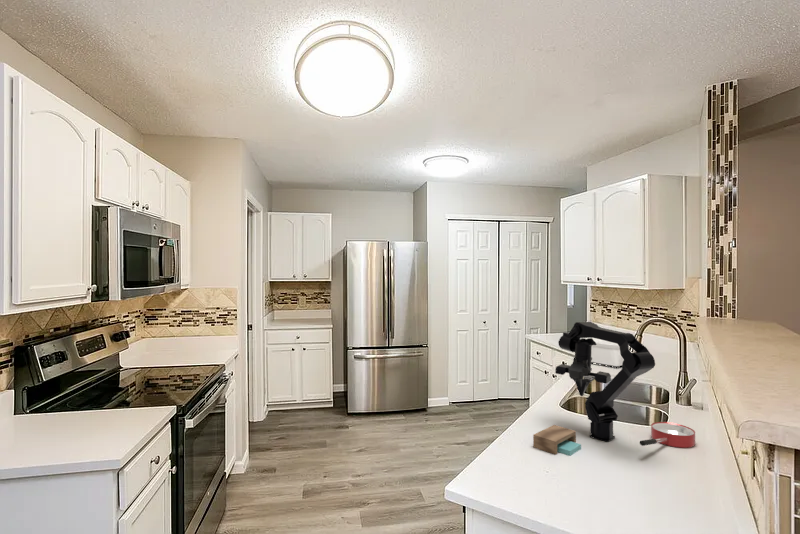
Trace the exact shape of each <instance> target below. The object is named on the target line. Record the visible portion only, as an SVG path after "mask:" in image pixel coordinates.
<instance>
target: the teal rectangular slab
mask: <svg viewBox="0 0 800 534" xmlns="http://www.w3.org/2000/svg"><path fill="white" fill-rule="evenodd" d="M580 450H582V444H581V443H578V442H576V443H575V442H571V441H568V440H565V441H563V442H561V443H559V444H557V453H559V454H562V455H566V456H572V455H574V454H575V453H577V452H578V451H580Z"/></svg>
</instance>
